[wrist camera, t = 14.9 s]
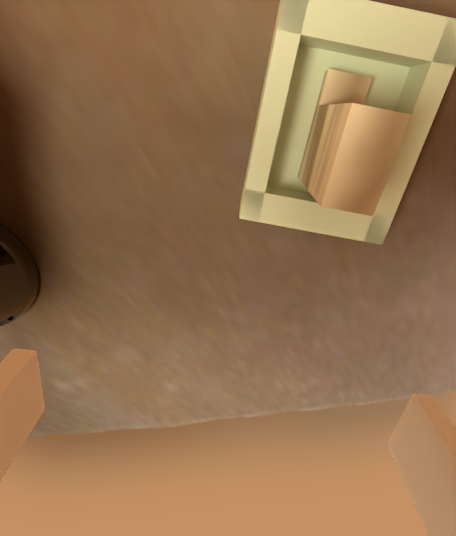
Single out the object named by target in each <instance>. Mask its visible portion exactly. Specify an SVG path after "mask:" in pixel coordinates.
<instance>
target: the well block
mask: <svg viewBox="0 0 456 536" xmlns="http://www.w3.org/2000/svg"><path fill="white" fill-rule="evenodd" d="M455 66H456V19H455V18H450V17H445V16H440V15H436V14H431V13H426V12H422V11H417V10H412V9H407V8H403V7H398V6H393V5H388V4H384V3H379V2H374V1H369V0H280V3H279V8H278V14H277V19H276V24H275V29H274V34H273V39H272V44H271V49H270V54H269V59H268V64H267V70H266V75H265V80H264V85H263V90H262V95H261V100H260V105H259V110H258V115H257V121H256V126H255V131H254V136H253V141H252V146H251V151H250V156H249V161H248V166H247V172H246V177H245V182H244V187H243V192H242V197H241V202H240V212H239V218H240V219H245V220H250V221H256V222H261V223H267V224H272V225H277V226H283V227H288V228H294V229H299V230H304V231H310V232H315V233H321V234H326V235H331V236H337V237H342V238H348V239H353V240H358V241H364V242H369V243H375V244H380V245H383V242H384V240H385V237H386V235H387V232H388V230H389V228H390V225H391V223H392V220H393V218H394V215H395V213H396V210H397V208H398V206H399V203H400V201H401V198H402V196H403V193H404V191H405V188H406V186H407V184H408V181H409V179H410V176H411V174H412V171H413V169H414V166H415V164H416V162H417V159H418V157H419V154H420V152H421V149H422V147H423V144H424V142H425V140H426V137H427V135H428V132H429V130H430V127H431V125H432V122H433V120H434V118H435V115H436V113H437V110H438V108H439V105H440V103H441V100H442V98H443V96H444V93H445V91H446V88H447V86H448V83H449V81H450V78H451V76H452V74H453V71H454V69H455ZM328 69H333V70H338V71H343V72H348V73H353V74H358V75H363V76H368V77H372V80H371V83H370V86H369V89H368V92H367V95H366V99H365V102H364V105H366V106H371V107H376V108H381V109H386V110H391V111H396V112H401V113H406V114H411V117H410V120H409V122H408V125H407V127H406V130H405V133H404V135H403V138H402V141H401V143H400V146H399V148H398V151H397V154H396V156H395V159H394V162H393V164H392V167H391V170H390V172H389V175H388V177H387V180H386V183H385V185H384V188H383V191H382V193H381V196H380V198H379V201H378V204H377V206H376V209H375V212H374V214H373V216H369V215H363V214H358V213H353V212H347V211H342V210H337V209H331V208H326V207H321V206H320V205H319V204H318V203H317V201H316V200H315V199H314V198H313V196H312V195H311V194H310V193H309V191H308V190H307V189H306V187H305V186H304V185H303V184H302V182H301V181H300V180H299V179H298V173H299V169H300V165H301V162H302V158H303V154H304V150H305V146H306V143H307V139H308V135H309V131H310V127H311V124H312V120H313V116H314V112H315V108H316V105H317V101H318V97H319V93H320V89H321V86H322V82H323V78H324V74H325V71H326V70H328Z"/></svg>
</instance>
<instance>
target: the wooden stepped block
mask: <svg viewBox="0 0 456 536" xmlns="http://www.w3.org/2000/svg"><path fill="white" fill-rule="evenodd" d="M371 80H372V77H368V76H363V75H358V74H353V73H348V72H343V71H338V70H333V69H328V70H326V71H325V74H324V78H323V82H322V86H321V89H320V93H319V97H318V101H317V105H316V108H315V112H314V116H313V120H312V124H311V127H310V131H309V135H308V139H307V143H306V146H305V150H304V154H303V158H302V162H301V165H300V169H299V173H298V179H299V180H300V181H301V182H302V184H303V185H304V186H305V187H306V189H307V190H308V191H309V193H310V194H311V195H312V196H313V198H314V199H315V200H316V201H317V203H318V204H319V205H320V206H321V207H326V208H331V209H337V210H342V211H347V212H353V213H358V214H363V215H369V216H373V214H374V212H375V209H376V206H377V204H378V201H379V198H380V196H381V193H382V191H383V188H384V185H385V183H386V180H387V177H388V175H389V172H390V170H391V167H392V164H393V162H394V159H395V156H396V154H397V151H398V148H399V146H400V143H401V141H402V138H403V135H404V133H405V130H406V127H407V125H408V122H409V120H410V117H411V114H406V113H401V112H396V111H391V110H386V109H381V108H376V107H371V106H366V105H364V102H365V99H366V95H367V92H368V89H369V86H370V83H371Z"/></svg>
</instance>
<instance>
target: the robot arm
mask: <svg viewBox="0 0 456 536" xmlns="http://www.w3.org/2000/svg"><path fill="white" fill-rule="evenodd" d="M38 289H39V278H38V272H37V269H36V266H35V263H34V261H33V259H32V257H31V255H30V254H29V252H28V251H27V249H26V248H25V247H24V245H23V244H22V243H21V242H20V241H19V240H18V239H17V238H16V237H15V236H14V235H13V234H12V233H11V232H9V231H8V230H7V229H5V228H4V227H2V226H1V225H0V326H2V325H5V324H8V323H10V322H12V321H13V320H15V319H17V318H18V317H19V316H20V315H22V314H23V313H24V312H25V311H26V310H27V309H28V308H29V307H30V306H31V305H32V304H33V302H34V301H35V299H36V296H37V293H38ZM44 410H45V406H44V399H43V392H42V385H41V378H40V371H39V364H38V357H37V351H33V350H24V349H15V348H13V349H12V350H11V351H10V353H9V354H8V355H7V356H6V357H5V358H4V359H3V360H2V361H1V362H0V481H1V479H2V477H3V476H4V474H5V473H6V471H7V469H8V468H9V466H10V465H11V463H12V461H13V460H14V458H15V457H16V455H17V453H18V452H19V450H20V449H21V447H22V445H23V444H24V442H25V441H26V439H27V437H28V436H29V434H30V433H31V431H32V429H33V428H34V426H35V424H36V423H37V421H38V420H39V418H40V416H41V415H42V413H43V412H44ZM387 447H388V449H389V451H390V454H391V456H392V458H393V460H394V462H395V464H396V467H397V469H398V471H399V473H400V475H401V477H402V479H403V482H404V484H405V486H406V488H407V490H408V493H409V495H410V497H411V499H412V501H413V503H414V506H415V508H416V510H417V512H418V514H419V516H420V519H421V521H422V523H423V525H424V527H425V529H426V532H427V534H428V536H456V427H455V425H454V424H453V423H452V421H451V420H450V418H449V417H448V415H447V414H446V413H445V411H444V410H443V408H442V407H441V405H440V404H439V403H438V401H437V400H436V398H435V397H434V396H432V395H424V394H415V393H413V394H412V396H411V398H410V400H409V402H408V404H407V406H406V408H405V410H404V412H403V413H402V416H401V418H400V419H399V421H398V423H397V425H396V427H395V429H394V431H393V433H392V435H391V437H390V439H389V441H388V443H387Z"/></svg>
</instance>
